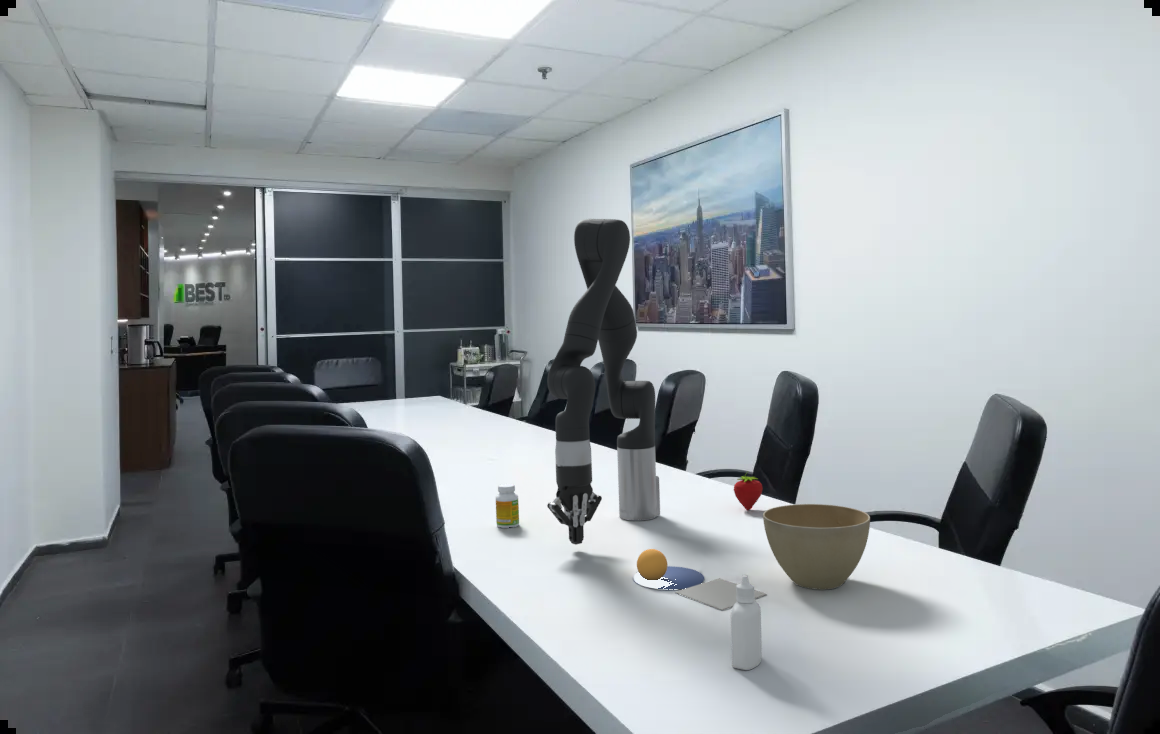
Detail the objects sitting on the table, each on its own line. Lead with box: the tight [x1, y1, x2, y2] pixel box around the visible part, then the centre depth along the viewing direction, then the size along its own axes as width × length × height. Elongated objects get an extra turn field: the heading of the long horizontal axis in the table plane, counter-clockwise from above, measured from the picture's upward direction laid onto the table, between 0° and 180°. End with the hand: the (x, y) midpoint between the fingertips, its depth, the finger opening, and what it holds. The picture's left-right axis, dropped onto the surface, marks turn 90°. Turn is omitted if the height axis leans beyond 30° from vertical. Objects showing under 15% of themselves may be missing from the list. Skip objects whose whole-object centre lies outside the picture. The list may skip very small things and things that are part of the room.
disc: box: [658, 565, 705, 591], centre depth 141 cm, size 13×13×1 cm
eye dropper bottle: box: [730, 574, 763, 671], centre depth 104 cm, size 4×6×12 cm
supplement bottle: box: [495, 483, 520, 529], centre depth 183 cm, size 5×5×10 cm
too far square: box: [675, 577, 768, 611], centre depth 131 cm, size 11×11×1 cm
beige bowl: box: [762, 503, 871, 590], centre depth 136 cm, size 18×18×12 cm
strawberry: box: [733, 472, 764, 511], centre depth 190 cm, size 6×8×10 cm
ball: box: [636, 548, 668, 580], centre depth 140 cm, size 6×6×6 cm
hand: (576, 543), depth 160 cm, fingers closed
